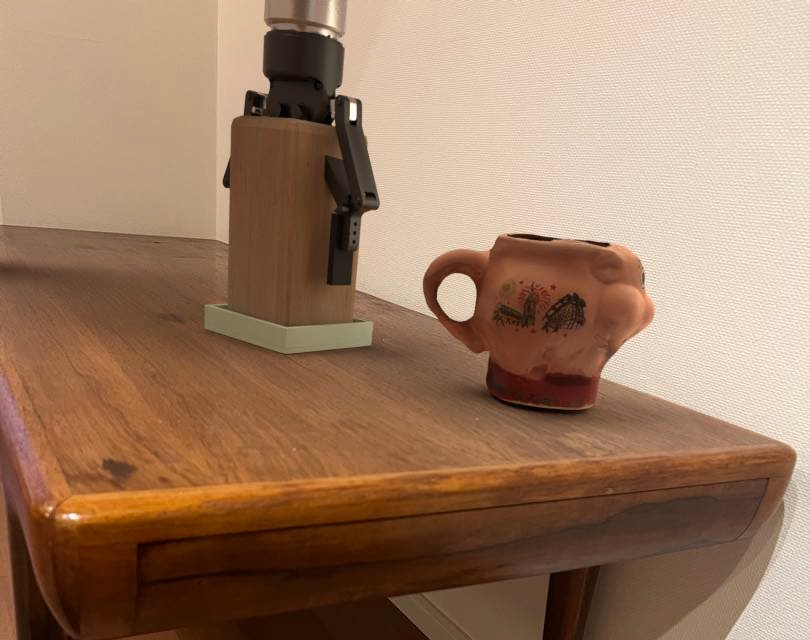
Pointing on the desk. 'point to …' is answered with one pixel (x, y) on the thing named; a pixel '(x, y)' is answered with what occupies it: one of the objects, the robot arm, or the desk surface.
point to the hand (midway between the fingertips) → (291, 274)
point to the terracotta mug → (546, 313)
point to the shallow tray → (287, 332)
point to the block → (283, 223)
